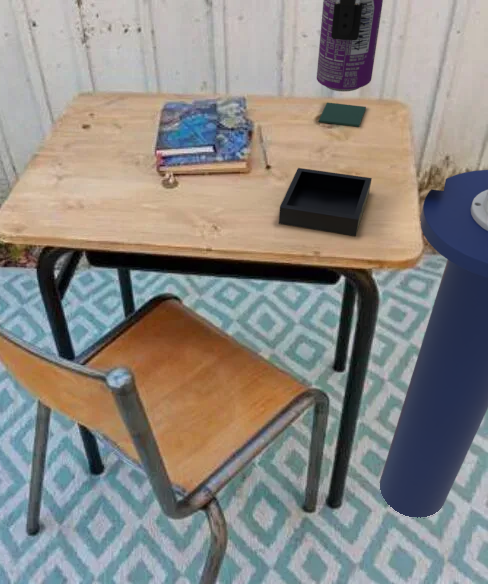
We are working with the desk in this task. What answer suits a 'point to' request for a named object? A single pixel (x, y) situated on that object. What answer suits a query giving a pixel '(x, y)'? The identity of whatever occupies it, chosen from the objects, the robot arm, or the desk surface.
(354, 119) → the rubber mat
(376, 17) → the beverage can
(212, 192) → the desk surface
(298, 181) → the black square tray
